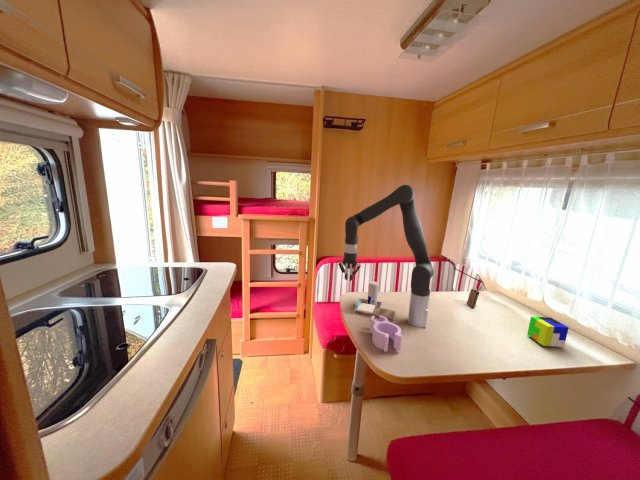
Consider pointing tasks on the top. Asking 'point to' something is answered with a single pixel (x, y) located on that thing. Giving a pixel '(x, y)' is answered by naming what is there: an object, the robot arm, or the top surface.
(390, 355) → the top surface
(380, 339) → the clip
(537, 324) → the puzzle toy
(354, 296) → the top surface
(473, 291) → the walkie talkie
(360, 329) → the top surface
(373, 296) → the beverage can
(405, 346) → the top surface
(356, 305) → the slide cover
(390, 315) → the tan flat frame
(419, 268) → the robot arm
